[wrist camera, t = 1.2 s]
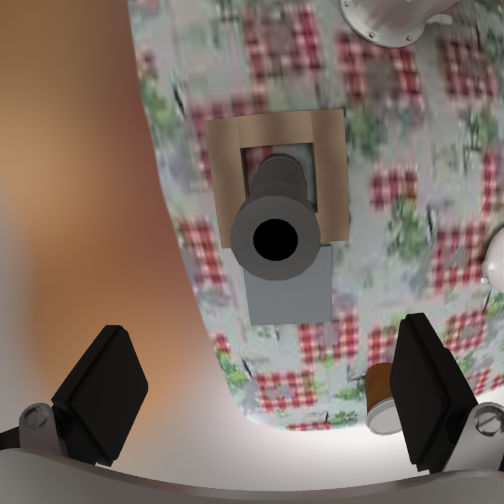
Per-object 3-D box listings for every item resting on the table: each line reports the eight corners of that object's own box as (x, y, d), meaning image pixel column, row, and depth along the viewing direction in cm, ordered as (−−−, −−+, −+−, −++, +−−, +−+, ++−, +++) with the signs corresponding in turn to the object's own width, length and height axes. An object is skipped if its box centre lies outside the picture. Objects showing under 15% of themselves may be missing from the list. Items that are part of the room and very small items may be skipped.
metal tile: (330, 244, 46) (331, 246, 45) (330, 318, 51) (330, 321, 50) (241, 249, 48) (241, 252, 47) (251, 322, 52) (251, 325, 52)
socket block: (337, 110, 38) (343, 109, 35) (343, 230, 45) (348, 240, 41) (211, 121, 41) (204, 121, 37) (226, 238, 47) (221, 248, 43)
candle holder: (298, 201, 44) (312, 291, 21) (254, 193, 44) (220, 275, 21) (306, 157, 41) (335, 201, 18) (261, 149, 42) (232, 183, 19)
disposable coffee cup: (358, 359, 54) (370, 408, 43) (406, 352, 52) (425, 398, 41) (355, 393, 57) (363, 440, 46) (399, 386, 56) (413, 431, 45)
